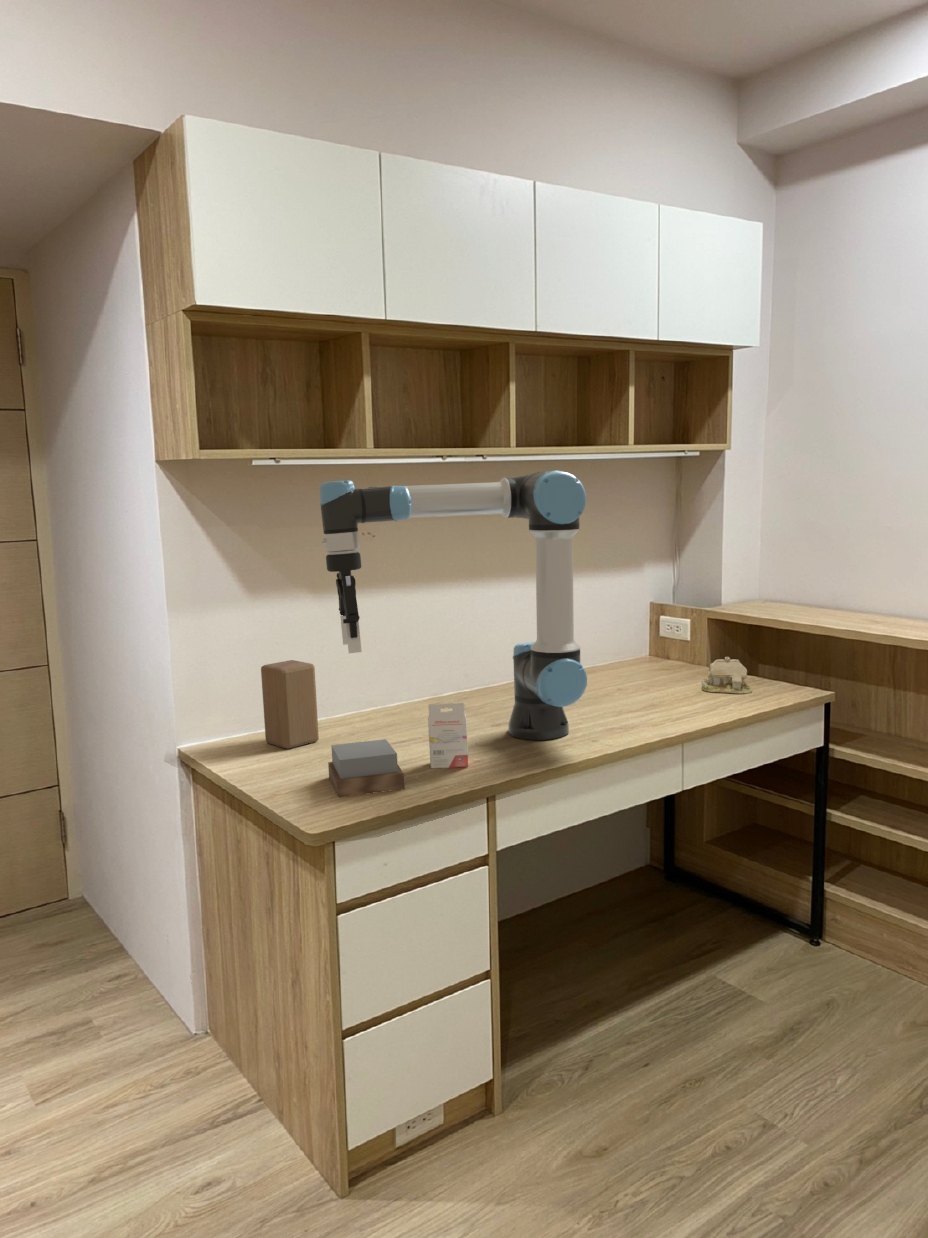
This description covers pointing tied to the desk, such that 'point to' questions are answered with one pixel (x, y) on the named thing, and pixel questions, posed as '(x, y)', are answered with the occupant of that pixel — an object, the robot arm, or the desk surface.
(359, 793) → the walnut base slab
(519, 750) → the desk surface
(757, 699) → the desk surface
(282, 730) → the wooden block
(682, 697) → the desk surface
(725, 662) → the ceramic model
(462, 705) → the ink cartridge box
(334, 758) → the slate grey top slab
